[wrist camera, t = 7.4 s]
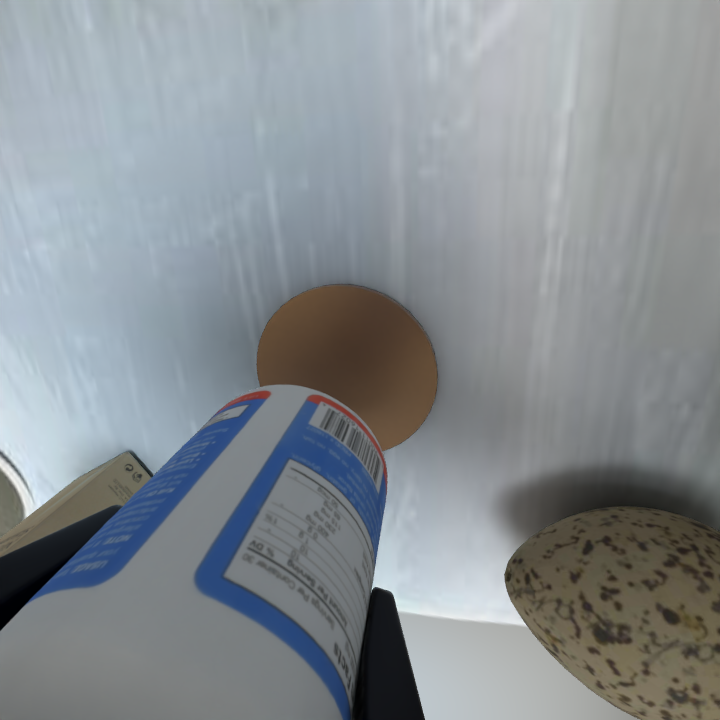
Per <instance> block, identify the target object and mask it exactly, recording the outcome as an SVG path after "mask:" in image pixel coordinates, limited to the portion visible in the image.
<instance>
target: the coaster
mask: <svg viewBox="0 0 720 720" xmlns="http://www.w3.org/2000/svg"><path fill="white" fill-rule="evenodd" d="M257 374H258V380H259V384H260V387H263V386H269V385H296V386H302V387H307V388H310V389H313V390H317V391H319V392H322V393H325V394H327V395H329V396H331V397H333V398H334V399H336V400H338V401H339V402H341V403H342V404H344V405H345V406H347V407H348V408H350V409H351V410H352V411H353V412H355V413H356V414H357V415H358V416H359V417H360V418H361V419H362V420H363V421H364V422H365V423H366V425H367V426H368V427H369V428H370V430H371V431H372V433H373V434H374V436H375V437H376V439H377V441H378V443H379V445H380V447H381V449H382V451H385V450H387V449H390V448H392V447H394V446H396V445H398V444H400V443H402V442H403V441H405V440H406V439H407V438H409V437H410V436H411V435H412V434H413V433H414V432H415V431H416V430H418V428H419V427H420V426H421V425H422V423H423V422H424V421H425V419H426V417H427V416H428V414H429V412H430V410H431V408H432V405H433V403H434V399H435V395H436V391H437V380H438V375H437V363H436V358H435V353H434V350H433V348H432V345H431V342H430V340H429V338H428V336H427V334H426V332H425V331H424V329H423V328H422V326H421V325H420V324H419V322H418V321H417V320H416V319H415V318H414V316H413V315H412V314H411V313H410V312H409V311H408V310H406V309H405V308H404V307H403V306H402V305H400V304H399V303H398V302H396V301H395V300H393V299H391V298H390V297H388V296H386V295H384V294H382V293H380V292H378V291H375V290H372V289H369V288H366V287H362V286H356V285H350V284H333V285H324V286H320V287H316V288H312V289H310V290H307V291H305V292H302V293H301V294H299V295H297V296H295V297H293V298H292V299H291V300H289V301H288V302H287V303H285V304H284V305H283V306H281V307H280V309H279V310H278V311H277V312H276V313H275V314H274V315H273V316H272V318H271V319H270V320H269V322H268V323H267V325H266V327H265V329H264V331H263V333H262V336H261V339H260V342H259V346H258V352H257Z"/></svg>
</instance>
